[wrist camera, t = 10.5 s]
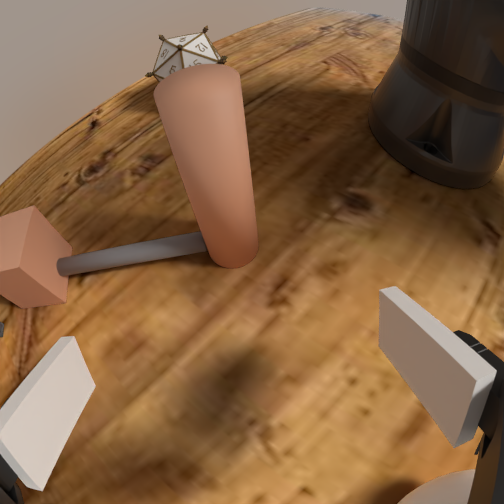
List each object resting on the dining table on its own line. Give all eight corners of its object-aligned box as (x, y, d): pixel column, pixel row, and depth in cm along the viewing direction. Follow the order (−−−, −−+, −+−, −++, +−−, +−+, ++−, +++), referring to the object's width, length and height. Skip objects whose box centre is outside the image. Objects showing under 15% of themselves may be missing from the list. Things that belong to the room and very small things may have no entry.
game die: (184, 119, 37) (130, 64, 32) (236, 75, 36) (185, 20, 31) (193, 125, 29) (125, 55, 24) (258, 71, 28) (195, 0, 23)
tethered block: (253, 213, 24) (233, 52, 13) (264, 272, 22) (248, 108, 11) (30, 256, 24) (-60, 163, 13) (22, 308, 22) (-89, 224, 10)
